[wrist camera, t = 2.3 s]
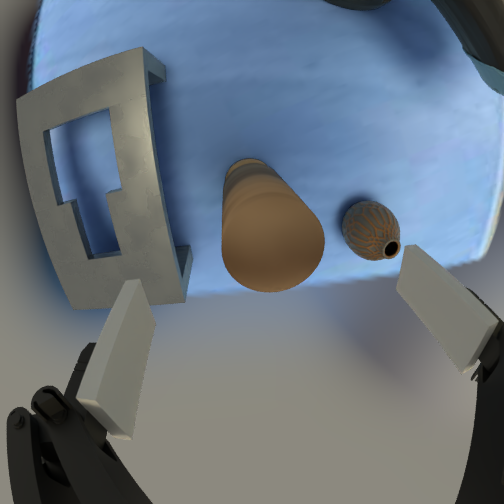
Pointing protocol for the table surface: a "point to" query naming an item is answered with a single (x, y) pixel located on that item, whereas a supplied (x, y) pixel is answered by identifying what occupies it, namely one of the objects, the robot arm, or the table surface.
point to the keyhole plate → (119, 201)
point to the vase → (371, 231)
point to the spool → (267, 230)
